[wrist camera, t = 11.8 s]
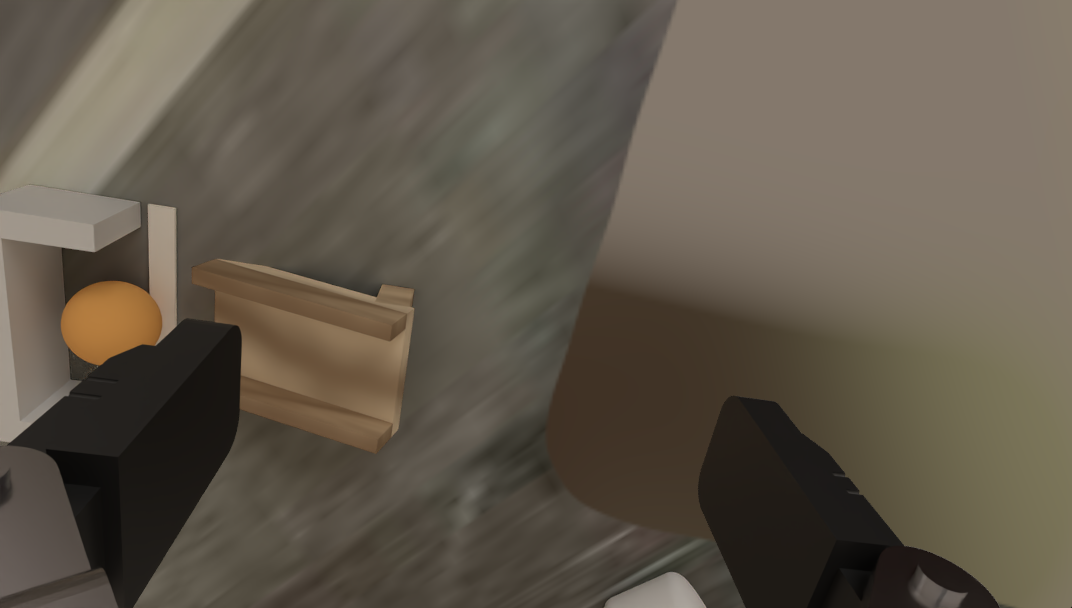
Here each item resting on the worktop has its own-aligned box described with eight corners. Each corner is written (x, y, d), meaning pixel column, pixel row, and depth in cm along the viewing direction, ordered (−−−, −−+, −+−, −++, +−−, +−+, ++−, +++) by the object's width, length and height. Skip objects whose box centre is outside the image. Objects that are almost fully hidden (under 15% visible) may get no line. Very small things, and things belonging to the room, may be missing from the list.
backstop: (29, 184, 38) (-35, 204, 33) (140, 202, 39) (93, 224, 34) (47, 396, 43) (-7, 440, 38) (145, 408, 44) (105, 452, 39)
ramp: (210, 252, 41) (160, 291, 35) (420, 284, 43) (409, 327, 37) (208, 372, 44) (162, 428, 38) (405, 397, 46) (392, 455, 40)
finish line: (149, 203, 39) (147, 204, 39) (176, 207, 39) (174, 208, 39) (153, 409, 44) (152, 411, 44) (177, 412, 44) (175, 414, 44)
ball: (70, 267, 39) (44, 298, 35) (166, 270, 41) (153, 300, 37) (76, 344, 41) (53, 382, 37) (169, 344, 43) (156, 380, 38)
